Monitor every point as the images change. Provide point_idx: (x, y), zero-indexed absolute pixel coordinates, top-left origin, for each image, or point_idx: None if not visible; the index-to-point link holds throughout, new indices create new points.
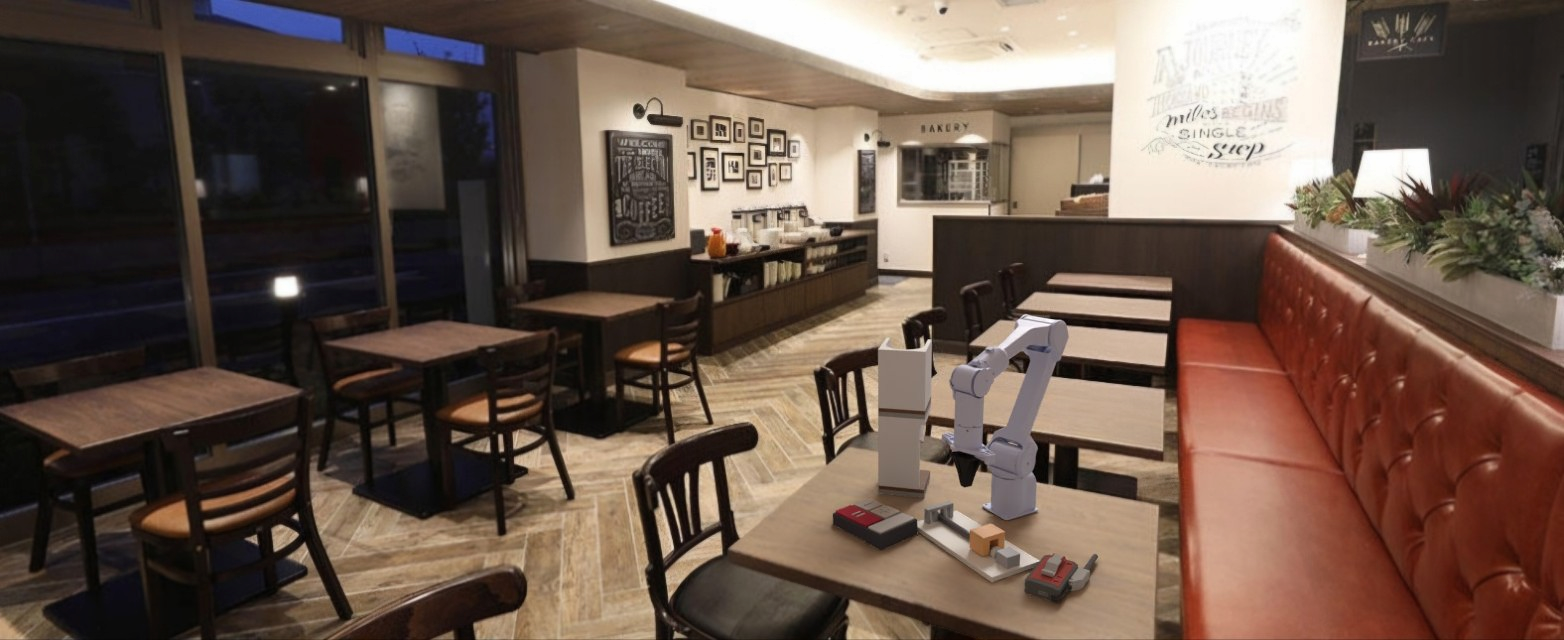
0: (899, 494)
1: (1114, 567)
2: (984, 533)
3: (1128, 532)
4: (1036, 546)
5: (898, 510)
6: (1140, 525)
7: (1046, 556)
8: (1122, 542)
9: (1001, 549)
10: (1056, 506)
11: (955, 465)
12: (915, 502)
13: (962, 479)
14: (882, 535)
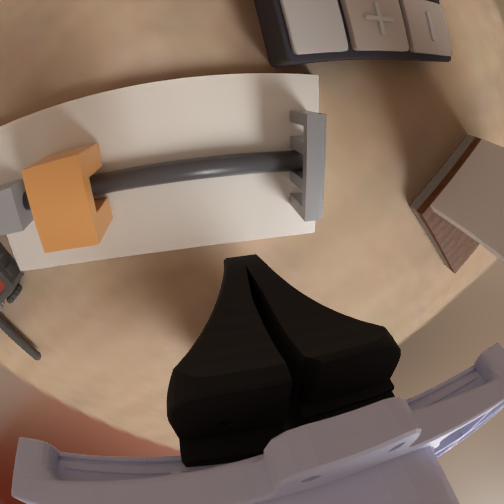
0: (444, 166)
1: (23, 357)
2: (45, 189)
3: (121, 419)
4: (96, 303)
5: (362, 48)
6: (137, 433)
7: (3, 285)
8: (93, 402)
9: (14, 204)
10: None
11: (316, 304)
12: (407, 175)
13: (237, 275)
14: None
